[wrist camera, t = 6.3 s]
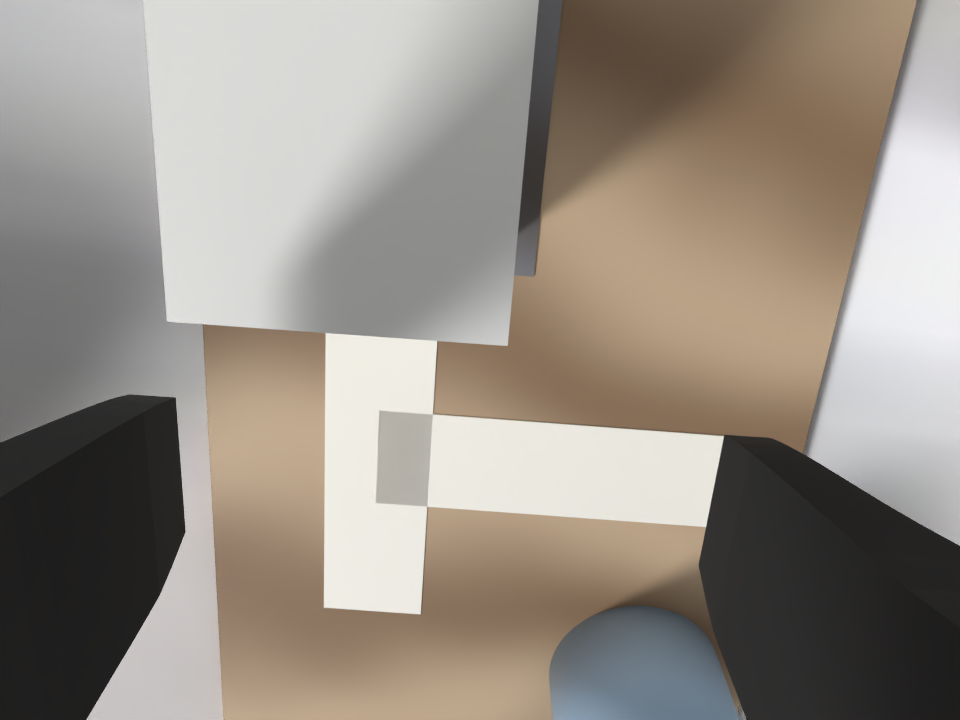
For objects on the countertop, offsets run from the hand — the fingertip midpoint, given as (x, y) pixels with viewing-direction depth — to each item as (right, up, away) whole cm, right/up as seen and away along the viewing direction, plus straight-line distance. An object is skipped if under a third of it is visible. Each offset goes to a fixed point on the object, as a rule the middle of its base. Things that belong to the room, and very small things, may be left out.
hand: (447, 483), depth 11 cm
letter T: (+2, -1, +9) cm, 9 cm away
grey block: (-1, +7, +6) cm, 9 cm away
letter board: (+1, +2, +8) cm, 8 cm away
